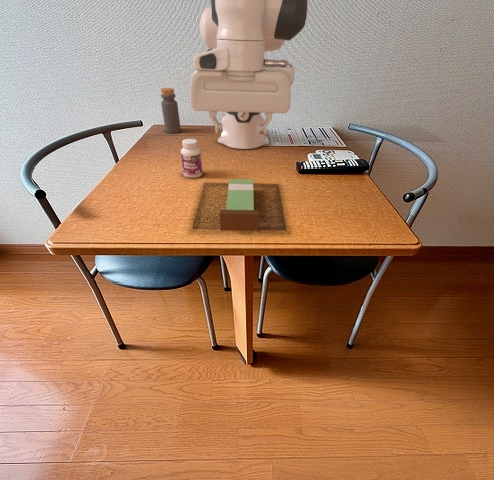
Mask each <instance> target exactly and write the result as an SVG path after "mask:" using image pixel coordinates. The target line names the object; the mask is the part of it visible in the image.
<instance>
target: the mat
mask: <svg viewBox="0 0 494 480" xmlns="http://www.w3.org/2000/svg"><path fill="white" fill-rule="evenodd" d="M219 187H220V189H221V190H218V188H219ZM228 187H229V183H222V182H218V183H217V182H214V183H210V182H204V185H203V188H202V192H201V196H200V202H199V204H198V206H197V210H196V215H195V216H194V217H195V218H194V221H193V225H192V228H191V229H195V230H198V229H199V228H202V230H205V229H206V230H215V231H216V230H217V231H219V230H220V231H254V232H255V231H257V232H258V231H287V225H286V224H287V223H286V220H285V213H284V209H283V203H282V196H281V191H280V186H279V183H261V184H260V186H259V184H258V183H254V182H253V188H254V189H257V190H254V210H226V206H227V197H228ZM264 195H265V196H264Z"/></svg>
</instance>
